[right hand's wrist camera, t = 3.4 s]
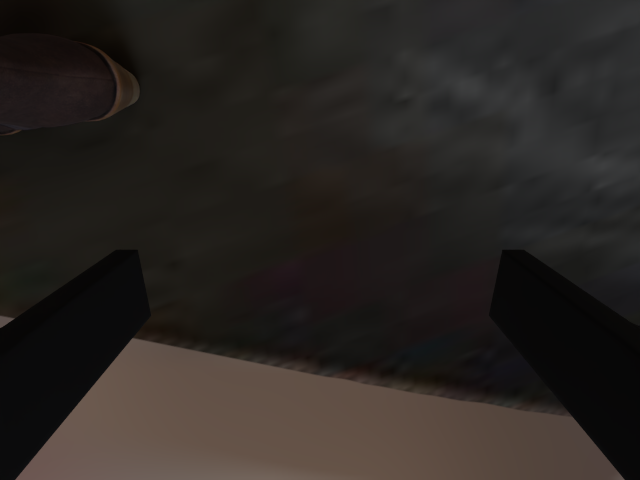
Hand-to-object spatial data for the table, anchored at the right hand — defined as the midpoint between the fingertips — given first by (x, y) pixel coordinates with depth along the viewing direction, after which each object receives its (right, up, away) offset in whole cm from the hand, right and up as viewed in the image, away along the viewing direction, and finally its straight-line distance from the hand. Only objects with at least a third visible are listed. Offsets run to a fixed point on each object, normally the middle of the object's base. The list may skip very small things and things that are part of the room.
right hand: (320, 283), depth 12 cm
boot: (-29, +18, +23) cm, 41 cm away
